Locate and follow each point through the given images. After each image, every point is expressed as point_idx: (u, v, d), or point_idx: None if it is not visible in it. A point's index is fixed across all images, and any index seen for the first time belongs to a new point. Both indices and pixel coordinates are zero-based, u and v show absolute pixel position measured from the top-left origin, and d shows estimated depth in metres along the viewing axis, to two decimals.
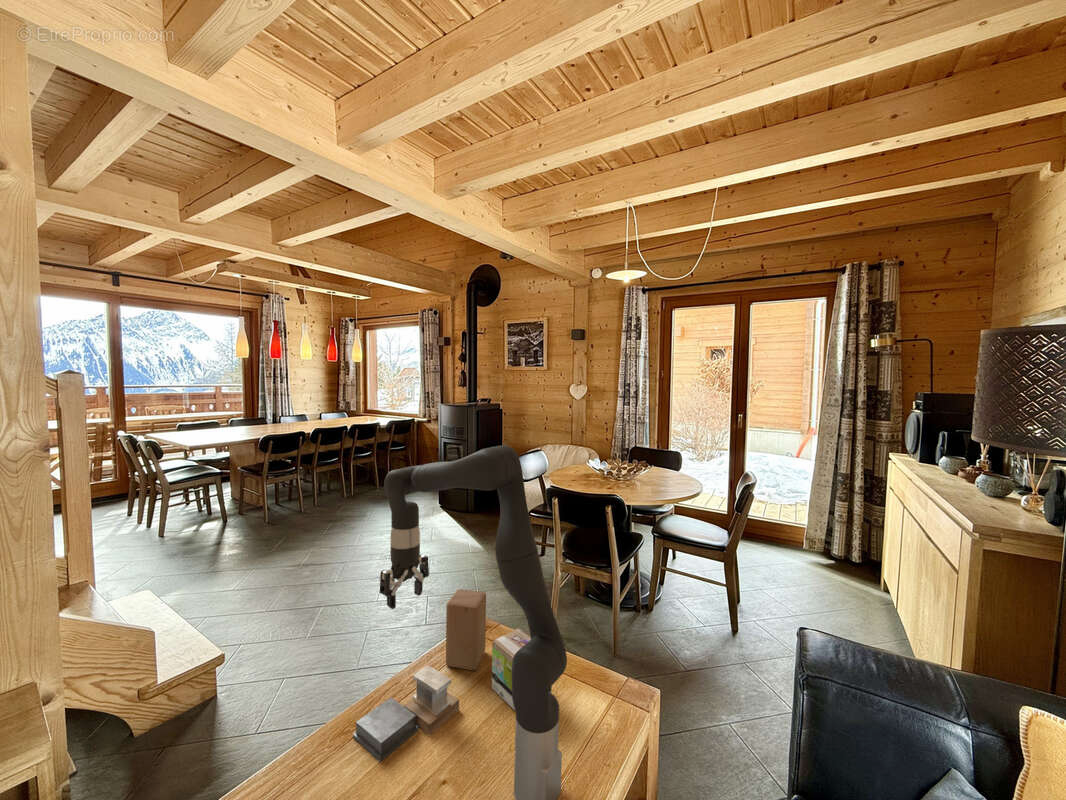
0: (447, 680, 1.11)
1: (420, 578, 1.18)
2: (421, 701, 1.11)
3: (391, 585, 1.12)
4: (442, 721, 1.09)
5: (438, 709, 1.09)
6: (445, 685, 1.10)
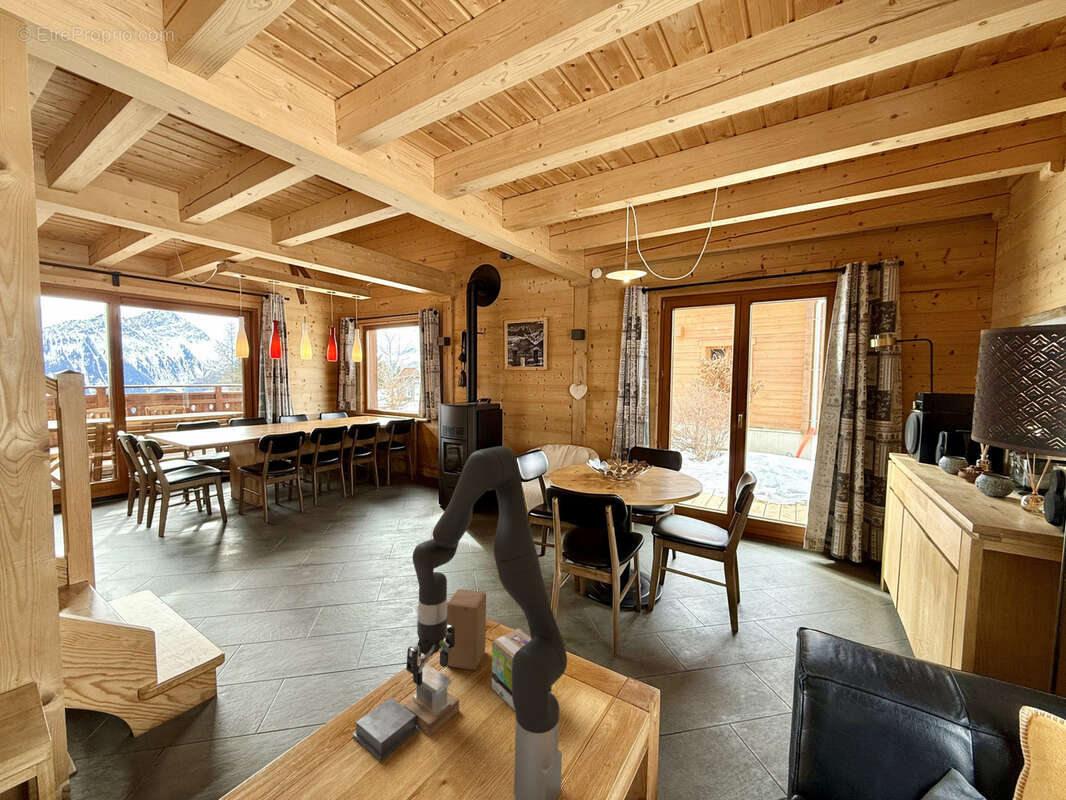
0: (447, 680, 1.11)
1: (446, 650, 1.14)
2: (421, 701, 1.11)
3: (418, 660, 1.09)
4: (442, 721, 1.09)
5: (438, 709, 1.09)
6: (445, 685, 1.10)
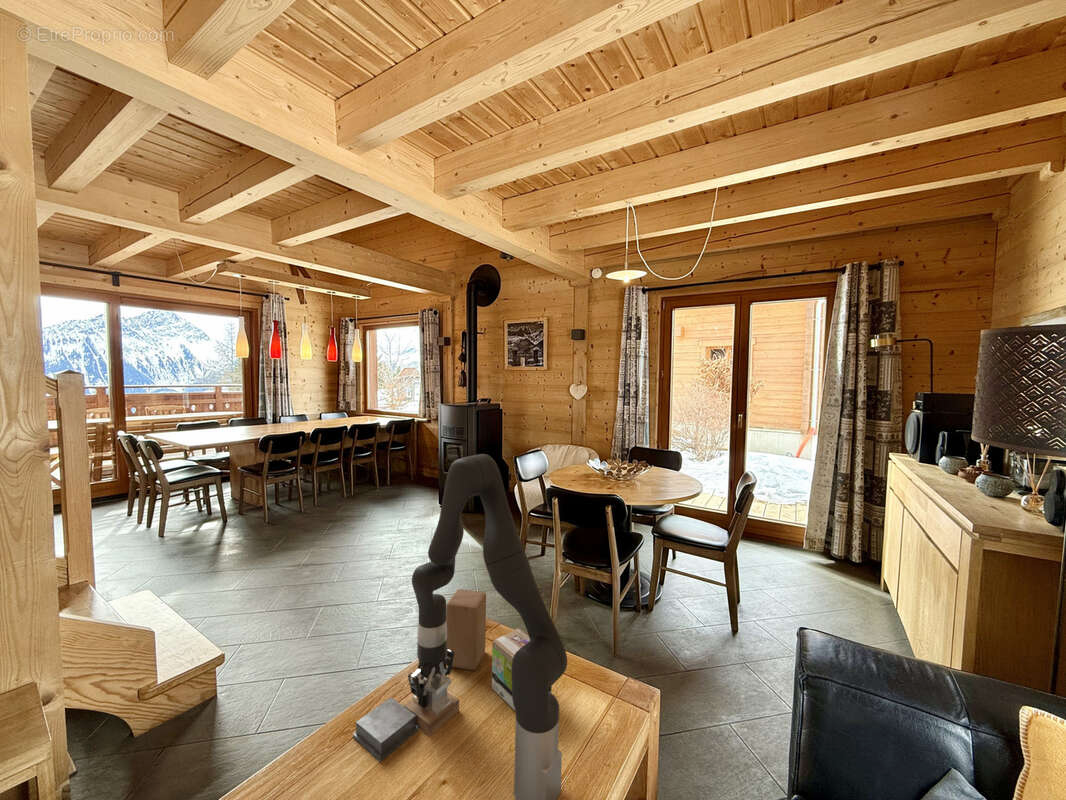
0: (447, 680, 1.11)
1: None
2: None
3: (421, 683, 1.10)
4: (442, 721, 1.09)
5: (438, 709, 1.09)
6: (445, 685, 1.10)
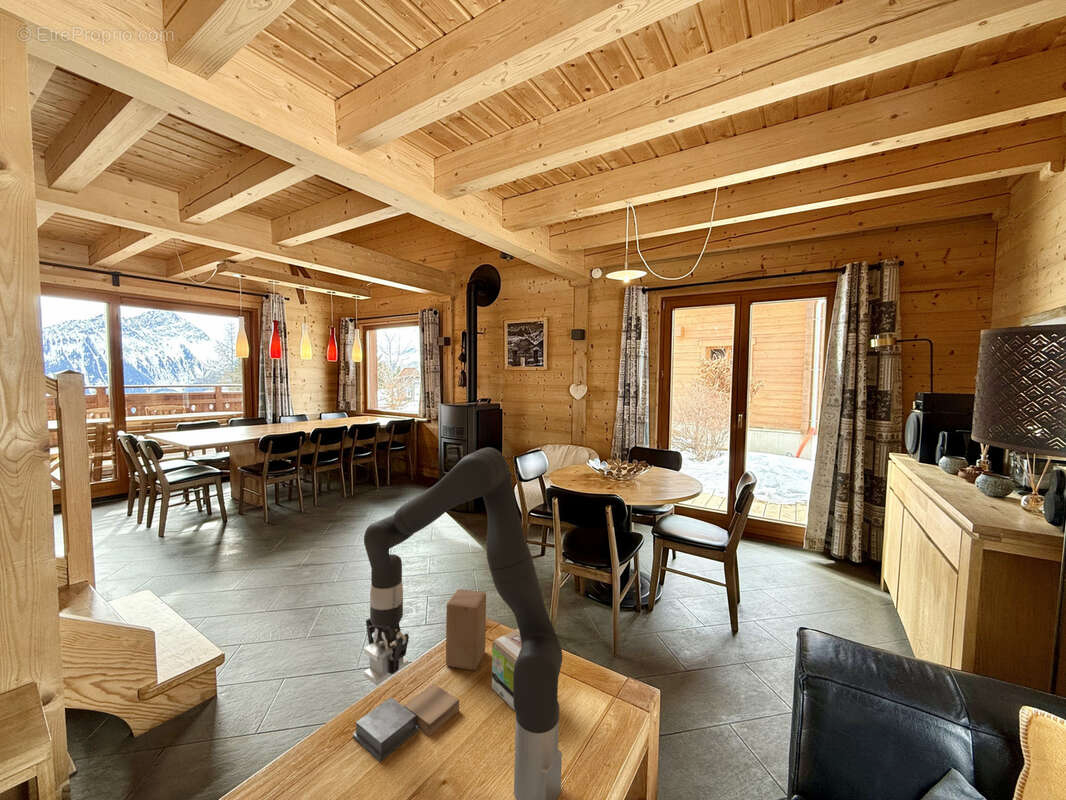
0: (376, 654, 1.00)
1: (389, 654, 1.02)
2: None
3: None
4: (442, 721, 1.09)
5: (367, 672, 1.02)
6: (371, 655, 1.01)
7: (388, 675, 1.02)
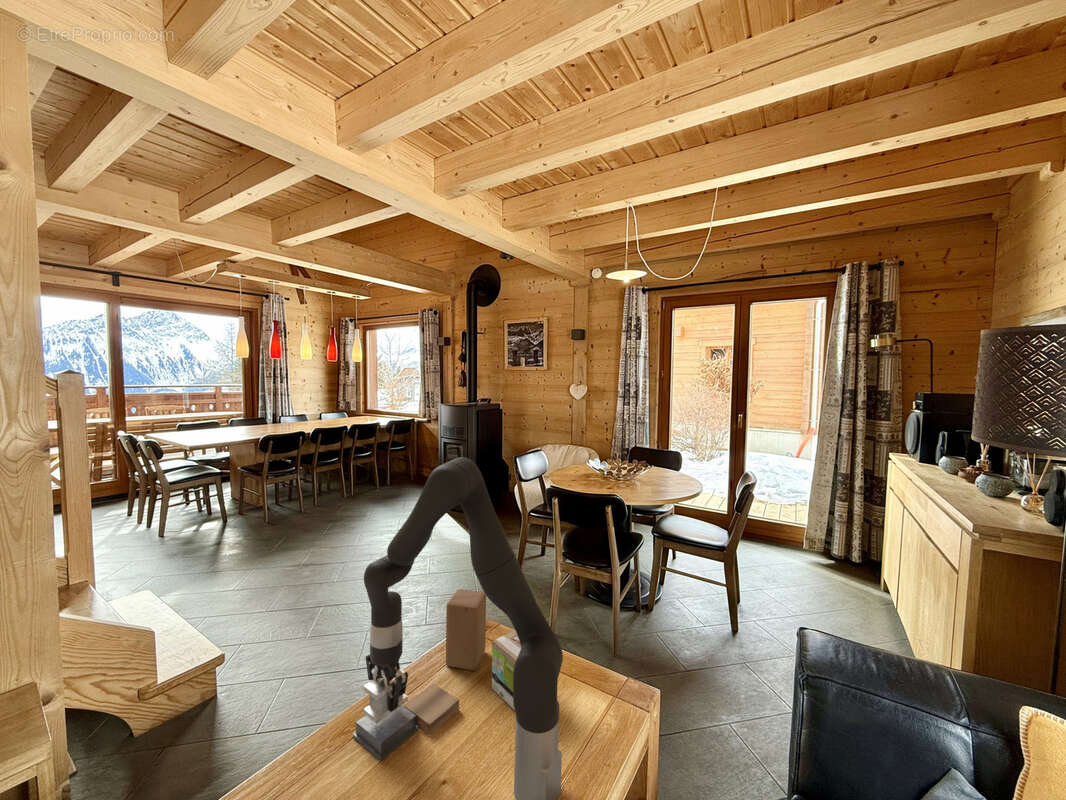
0: (375, 692, 1.01)
1: (388, 692, 1.03)
2: None
3: None
4: (442, 721, 1.09)
5: (367, 710, 1.03)
6: (371, 693, 1.01)
7: (388, 713, 1.03)
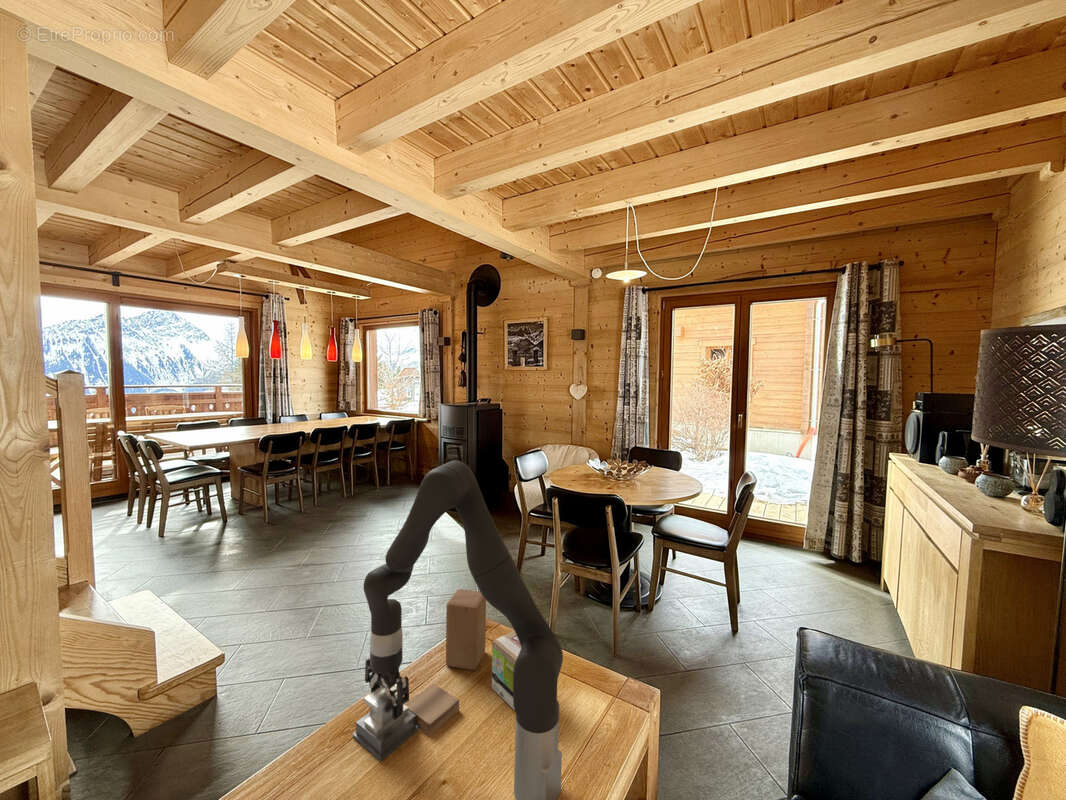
0: (376, 704, 1.01)
1: (392, 700, 1.02)
2: None
3: None
4: (442, 721, 1.09)
5: (368, 722, 1.03)
6: (371, 705, 1.01)
7: (388, 724, 1.03)
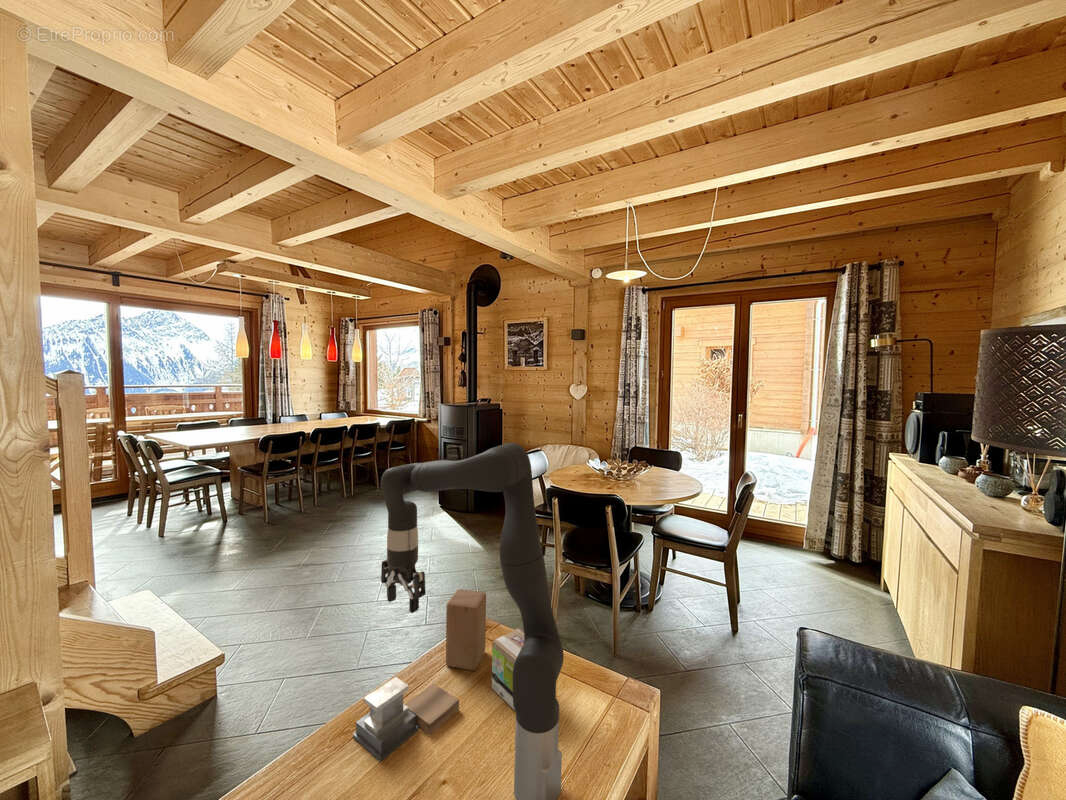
0: (376, 704, 1.01)
1: (409, 594, 1.06)
2: None
3: None
4: (442, 721, 1.09)
5: (368, 722, 1.03)
6: (371, 705, 1.01)
7: (388, 724, 1.03)
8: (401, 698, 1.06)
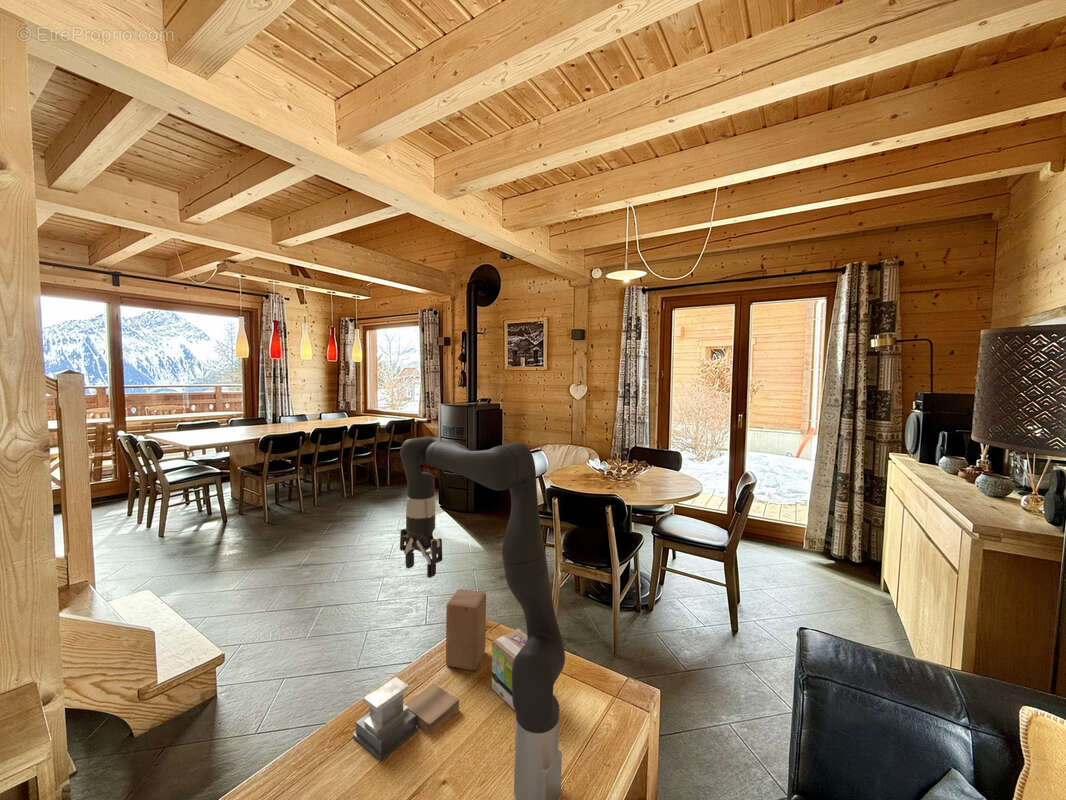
0: (376, 704, 1.01)
1: (427, 559, 1.11)
2: None
3: None
4: (442, 721, 1.09)
5: (368, 722, 1.03)
6: (371, 705, 1.01)
7: (388, 724, 1.03)
8: (401, 698, 1.06)
